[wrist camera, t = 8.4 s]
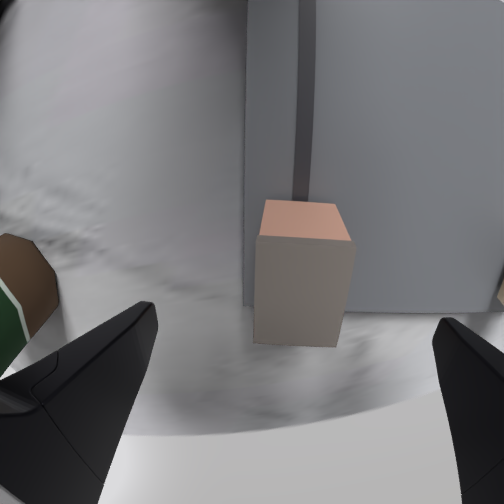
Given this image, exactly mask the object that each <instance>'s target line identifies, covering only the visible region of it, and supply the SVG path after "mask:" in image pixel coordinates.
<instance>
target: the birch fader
mask: <svg viewBox="0 0 504 504" xmlns="http://www.w3.org/2000/svg"><path fill="white" fill-rule="evenodd" d="M497 298H498V299H499V300H500V302H501V303H502V304H503V305H504V280H503V282H502V285H501V288H500V290H499V293H498V295H497Z"/></svg>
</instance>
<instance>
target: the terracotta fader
mask: <svg viewBox="0 0 504 504" xmlns="http://www.w3.org/2000/svg"><path fill="white" fill-rule="evenodd" d="M356 249H357V247H356V245H355V243H354V241H351V239H350V236H349V234H348V232H347V230H346V227H345V225H344V223H343V220H342V218H341V216H340V214H339V212H338V209H337V207H336V205H335V204H330V203H316V202H301V201H284V200H266V202H265V207H264V212H263V217H262V222H261V228H260V233H259V235H257V239H256V256H255V293H254V329H253V343H258V344H272V345H289V346H310V347H336V346H337V342H338V338H339V333H340V329H341V325H342V320H343V316H344V311H345V306H346V302H347V297H348V292H349V287H350V282H351V277H352V271H353V266H354V260H355V255H356Z"/></svg>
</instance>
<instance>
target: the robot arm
mask: <svg viewBox="0 0 504 504" xmlns="http://www.w3.org/2000/svg"><path fill="white" fill-rule="evenodd" d="M157 332H158V320H157V314H156V309H155V305H154V303H152V302H146V301H140V302H138V303H137V304H135V305H133V306H132V307H130V308H128V309H126V310H125V311H123V312H121V313H120V314H118V315H116V316H114V317H113V318H111V319H109V320H108V321H106V322H104V323H103V324H101V325H99V326H97V327H96V328H94V329H92V330H91V331H89V332H87V333H85V334H84V335H82V336H80V337H79V338H77V339H75V340H74V341H72V342H70V343H69V344H67V345H65V346H63V347H62V348H60V349H59V350H58V351H55V352H53V353H52V354H50V355H48V356H46V357H45V358H43V359H41V360H39V361H38V362H36V363H34V364H32V365H30V366H28V367H26V368H24V369H22V370H20V371H18V372H16V373H14V374H12V375H10V376H8V377H6V378H4V379H2V380H0V504H98V501H99V498H100V495H101V492H102V489H103V486H104V482H105V479H106V477H107V474H108V471H109V468H110V466H111V463H112V460H113V457H114V454H115V452H116V449H117V446H118V443H119V441H120V438H121V435H122V433H123V430H124V427H125V425H126V422H127V419H128V417H129V414H130V412H131V409H132V406H133V404H134V401H135V399H136V396H137V394H138V391H139V389H140V386H141V384H142V381H143V379H144V376H145V373H146V371H147V367H148V364H149V360H150V357H151V353H152V349H153V346H154V342H155V339H156V335H157ZM432 345H433V351H434V356H435V362H436V367H437V373H438V379H439V384H440V388H441V392H442V396H443V400H444V404H445V408H446V413H447V417H448V421H449V426H450V431H451V435H452V440H453V446H454V451H455V456H456V462H457V467H458V474H459V482H460V489H461V494H462V495H461V498H462V504H504V353H502V352H501V351H500V350H498V349H497V348H496V347H494V346H493V345H491V344H490V343H489V342H487V341H486V340H484V339H483V338H482V337H480V336H479V335H477V334H476V333H474V332H473V331H472V330H470V329H469V328H467V327H466V326H464V325H463V324H462V323H460V322H459V321H457V320H456V319H454V318H452V317H446V318H442V319H441V320H440V321H439V324H438V326H437V329H436V331H435V334H434V336H433V339H432Z"/></svg>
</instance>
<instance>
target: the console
mask: <svg viewBox="0 0 504 504" xmlns="http://www.w3.org/2000/svg"><path fill="white" fill-rule="evenodd" d="M266 200H284V201H301V202H316V203H330V204H335V205H336V207H337V209H338V212H339V214H340V216H341V218H342V220H343V223H344V225H345V227H346V230H347V232H348V234H349V236H350V239H351V241H354V243H355V245H356V247H357V249H356V255H355V260H354V266H353V271H352V277H351V282H350V287H349V292H348V297H347V302H346V306H345V311H348V312H386V313H469V312H504V305H503V304H502V303H501V302H500V300H499V299H498V298H497V295H498V293H499V290H500V288H501V285H502V282H503V280H504V3H503V2H501V1H499V0H248V7H247V51H246V104H245V170H244V269H243V306H253V307H254V293H255V256H256V239H257V235H259V233H260V228H261V222H262V217H263V212H264V207H265V202H266Z"/></svg>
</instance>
